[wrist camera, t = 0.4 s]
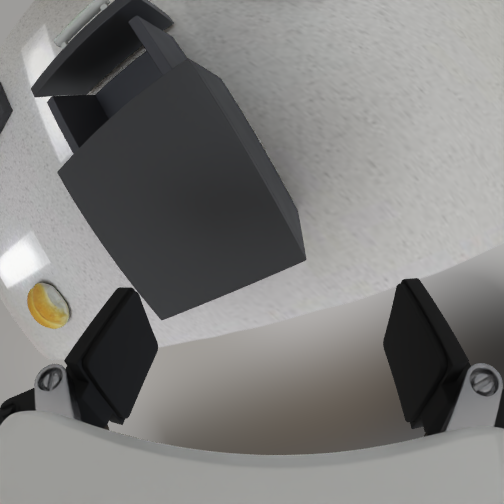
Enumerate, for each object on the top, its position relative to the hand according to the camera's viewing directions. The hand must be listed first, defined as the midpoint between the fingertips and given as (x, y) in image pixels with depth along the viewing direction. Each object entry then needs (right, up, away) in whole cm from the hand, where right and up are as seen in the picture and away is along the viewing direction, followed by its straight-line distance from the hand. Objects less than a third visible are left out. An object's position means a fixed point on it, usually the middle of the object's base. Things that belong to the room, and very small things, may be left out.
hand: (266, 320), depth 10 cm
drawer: (-11, +18, +12) cm, 24 cm away
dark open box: (-5, +10, +17) cm, 20 cm away
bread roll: (-34, -6, +28) cm, 44 cm away
